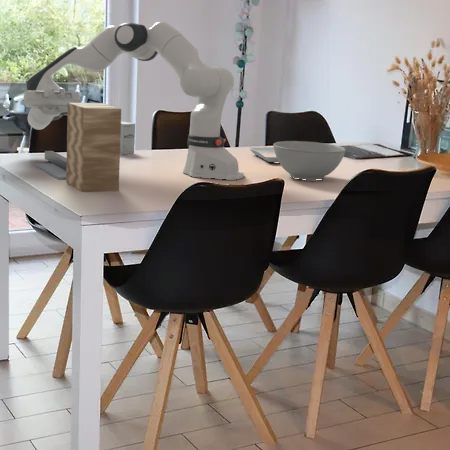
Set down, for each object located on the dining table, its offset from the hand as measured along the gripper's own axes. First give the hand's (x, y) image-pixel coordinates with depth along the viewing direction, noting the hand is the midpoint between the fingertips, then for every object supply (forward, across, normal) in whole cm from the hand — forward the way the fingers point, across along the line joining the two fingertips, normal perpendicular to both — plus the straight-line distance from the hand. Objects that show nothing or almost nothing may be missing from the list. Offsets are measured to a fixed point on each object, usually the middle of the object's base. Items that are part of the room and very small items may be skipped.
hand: (57, 89), depth 281 cm
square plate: (-15, +102, +23) cm, 105 cm away
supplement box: (-36, +36, +11) cm, 52 cm away
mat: (-4, 0, +30) cm, 30 cm away
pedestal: (+19, 0, +42) cm, 46 cm away
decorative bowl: (+19, +85, +42) cm, 97 cm away
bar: (-10, +1, +25) cm, 27 cm away
